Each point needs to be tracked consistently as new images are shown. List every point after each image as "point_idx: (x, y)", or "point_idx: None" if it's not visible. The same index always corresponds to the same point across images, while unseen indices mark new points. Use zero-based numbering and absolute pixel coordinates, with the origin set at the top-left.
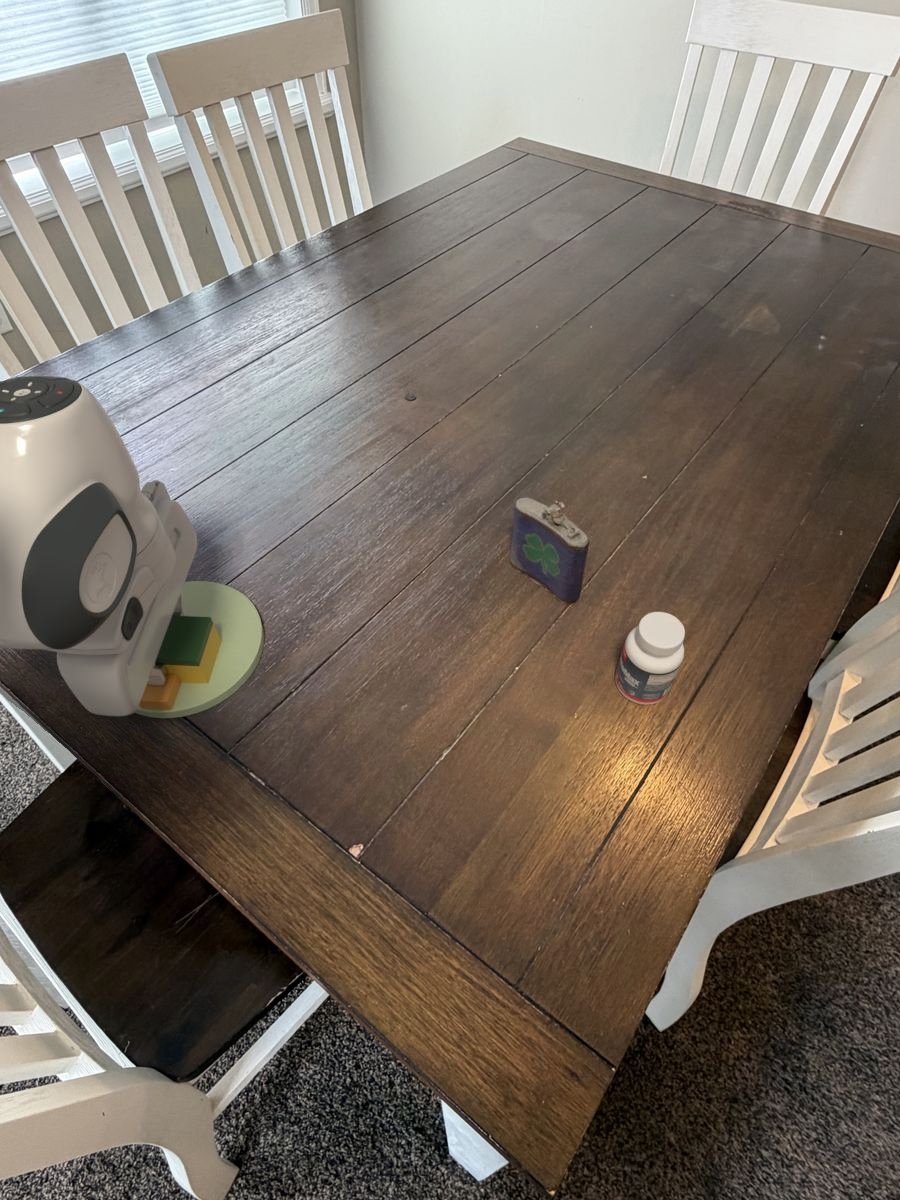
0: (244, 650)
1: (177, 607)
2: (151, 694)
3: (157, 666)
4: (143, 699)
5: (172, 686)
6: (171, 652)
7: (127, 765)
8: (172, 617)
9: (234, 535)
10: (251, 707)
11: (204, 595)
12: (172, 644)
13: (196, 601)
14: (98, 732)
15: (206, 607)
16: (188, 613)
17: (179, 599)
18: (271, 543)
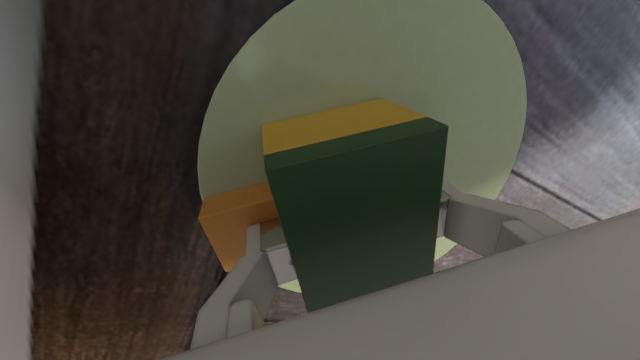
0: None
1: (460, 236)
2: (229, 238)
3: (284, 273)
4: (208, 233)
5: None
6: (326, 298)
7: (86, 213)
8: (429, 245)
9: (607, 124)
10: (286, 303)
11: (485, 164)
12: (349, 286)
13: (473, 157)
14: (113, 109)
15: (457, 182)
16: (446, 158)
17: (485, 252)
18: (568, 188)
